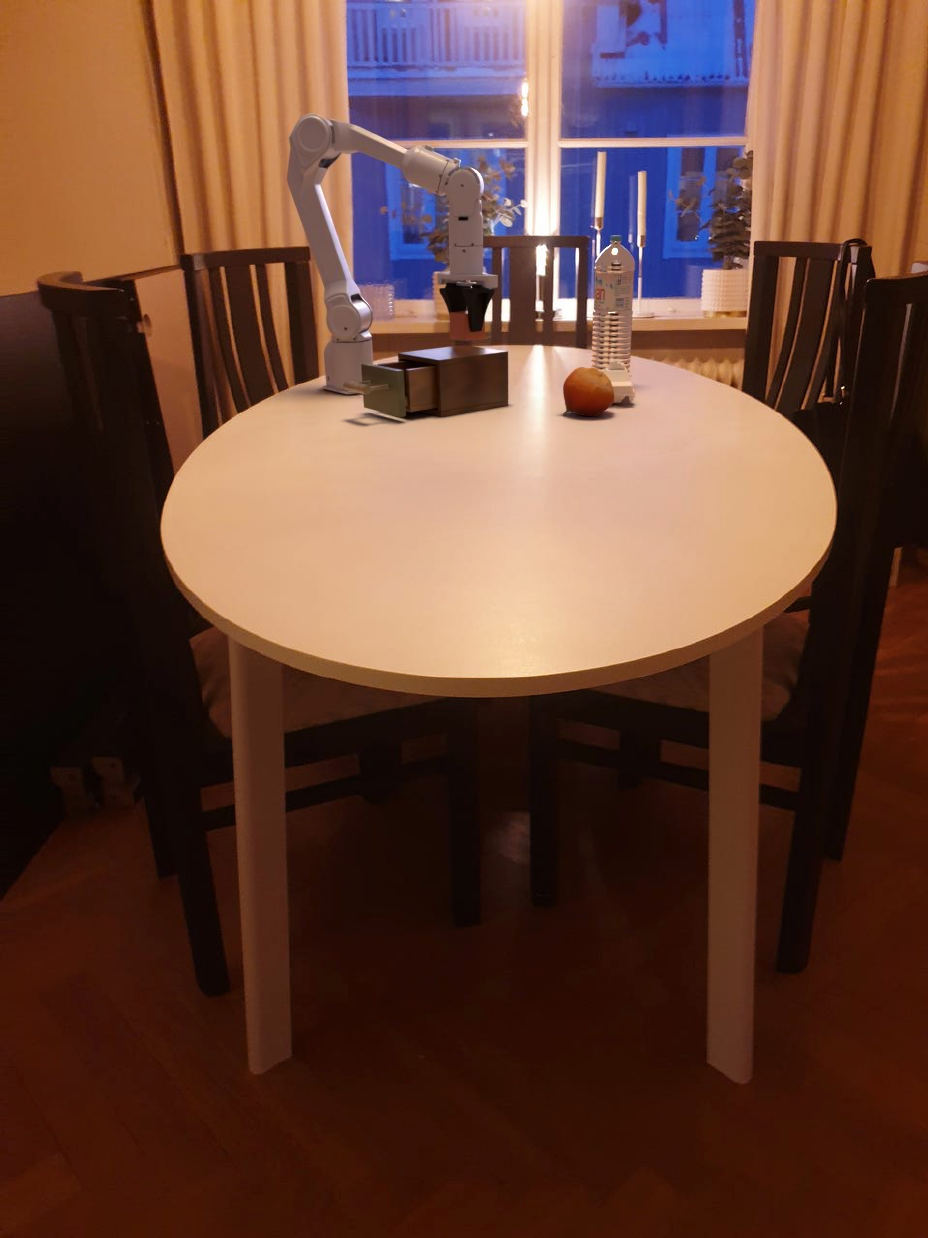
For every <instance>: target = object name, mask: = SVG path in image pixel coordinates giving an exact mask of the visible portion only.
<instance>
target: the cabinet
mask: <svg viewBox="0 0 928 1238" xmlns="http://www.w3.org/2000/svg"><path fill="white" fill-rule="evenodd" d="M405 360H412V361H418V362H423V363H429V364H435V365H437V387H438V408H433V409H427V410H421V411H419V412H420V413H424V414H428V415H432V416H437V417H441V418H443V417H449V416H454V415H460V414H466V413H473V412H478V411H484V410H489V409H490V410H491V409H494V408H502V407H507V406H509V351H508V350H501V349H495V348H489V347H482V346H474V345H466V344H461V345H454V346H446V347H437V348H428V349H421V350H420V349H419V350H410V351H403V352H398V353H397V362H398V361H405Z"/></svg>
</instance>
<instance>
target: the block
mask: <svg viewBox="0 0 928 1238" xmlns="http://www.w3.org/2000/svg"><path fill="white" fill-rule="evenodd" d="M449 339H451V340H455V341H463V342H466V341H474V340H475V341H476V340H483V339H486V317H485V318H484V323H483V327H482V331H477V332H470V327H469V320H468V310H466V311H460V312H450V315H449Z"/></svg>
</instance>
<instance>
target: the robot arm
mask: <svg viewBox="0 0 928 1238" xmlns="http://www.w3.org/2000/svg"><path fill="white" fill-rule="evenodd" d="M288 141H289V154H288V163H287V172H286V181H287V186H288V188H289V192H290V195H291V197H292V200H293V203H294V205H295V209H296V211H297V215H298V217H299V220H300V223H301V225H302V228H303V232H304V234H305V237H306V240H307V242H308V245H309V249H310V250H311V254H312V256H313V260H314V262H315V265H316V268H317V271H318V274H319V276H320V279H321V282H322V286H323V289H324V291H323V302H324V306H325V309H326V317H325V322H326V327H327V329H328V331H329V332H330V333H331V336H330V340H329V341H328V342H327V343H326V344H325V347H324V350H323V363H324V375H325V385H322V386H321V389H323V390H328V391H332V392H335V393H340V394H343V395H355V394H358V393H357V392H353V391H349V390H346V389H344V387H343V384H344V382H345V381H352V382H362V371H361V364H365V363H369V364H374V353H373V339H372V338H373V335H372V334H371V333H370V331H369V329H371V327H372V325H373V322H374V312H373V309H372V307H371V304H369V303H368V301H366V300H365V298H363V295H362V293H361V289H360V288H359V286H358V285H357V284H356V282H355V281H354V279H353V277H352V274H351V271H350V268H349V265H348V262H347V259H346V257H345V254H344V251H343V248H342V245H341V242H340V239H339V235H338V233H337V231H336V228H335V227H336V226H335V225H334V222H333V218H332V216H331V213H330V210H329V206H328V204H327V201H326V198H325V195H324V192H323V189H322V186H321V185H322V182H323V180H324V179H325V176H326V174H327V172H328V170H329V168H330V167H331V166H332V165H333V164H334V163H335V162H337V160H338V159H339V158H340V157H341V155H342V154H345V155H351V154H355V153H361V154H363V155H366V156H369V157H371V158H373V159H375V160H379V161H380V162H383V163H386V164H388V165H390V166H393V167H394V168H395V167H396V168H398V169H400V170H401V171H402V173H403V175H404V178H405V180H406V182H408V183H410V184H413V185H414V186H417V187H419V188H421V189H423V190H426V191H429V192H430V193H433V194H435V195H438V196H439V197H443V196H445V195H446V197H447V199H448V212H449V213H448V214H449V215H448V250H449V252H448V254H449V259H448V260H449V272H437V273H436V278H437V281H436V282H437V283H436V284H437V285H438V286H441V285H442V286H443V285H445V286H444V287H440V288H439V289H438V290H439V294H440V295H441V298H442V299H443V301H444V303H445V306H446V308H447V311H448V315H449V316H450V312H460V311H468V320H469V327H470V332H477V331H482V327H483V323H484V318H485V319H486V313H487V310H488V307H489V305H490V302H491V301H492V298H493V296H494V295H495V293H496V292H495V291H496V289H495V288H498V287H499V275H498V274H489V273H487V272H484V217H483V213H482V211H483V204H482V200H481V198H482V196H483V194H484V192H485V182H484V179H483V177H482V175H481V173H480V172H479V171H477V170H476V169H475V168H473V167H472V166H469V165H462V166H461V162H462V161H461V159H459V158H457V157H454V158H453V159H452V158H450V157H448V156H445V155H443V154H441V153H438V152H435V151H434V150H435V147H434V146H432V145H429V144H428V143H426V144H425V145H424V146H422V145H420V144H417V145H416V146H413V147H412V148H409V149H406V148H405V147H403V146H400V145H399V144H397V143H395V142H392V141H390V140H388V139H386V138H384V137H382V136H380V135H378V134H376V133H373V132H372V131H369V130H367V129H366V128H363V127H362V126H359V125H356V124H353V123H349V122H346V121H341V120H337V119H334V118H329V117H328V118H325V117H324V116H322V115H320V114H317V113H307V114H304V115H302V116H300V118H299V119H298V120H297V121H296V123H295V125H294V127H293V128H292V131H291V132H290V134H289V136H288ZM465 281H469V282H465Z"/></svg>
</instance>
